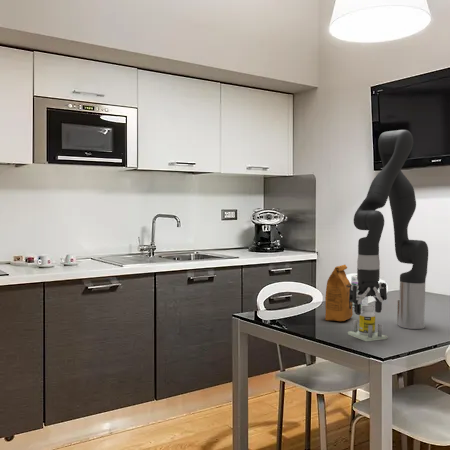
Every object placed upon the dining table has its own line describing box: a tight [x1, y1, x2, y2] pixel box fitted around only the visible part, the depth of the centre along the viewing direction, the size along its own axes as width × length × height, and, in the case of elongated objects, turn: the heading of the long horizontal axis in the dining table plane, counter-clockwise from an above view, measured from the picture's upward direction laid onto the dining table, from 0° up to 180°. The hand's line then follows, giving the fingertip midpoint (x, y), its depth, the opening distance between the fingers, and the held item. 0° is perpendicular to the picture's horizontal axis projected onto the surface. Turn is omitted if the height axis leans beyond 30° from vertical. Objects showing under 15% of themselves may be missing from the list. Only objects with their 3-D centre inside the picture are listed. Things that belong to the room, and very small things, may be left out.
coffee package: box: [324, 264, 354, 322], centre depth 206 cm, size 10×12×22 cm
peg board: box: [347, 319, 388, 342], centre depth 178 cm, size 10×9×5 cm
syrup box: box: [350, 274, 369, 310], centre depth 233 cm, size 6×6×14 cm
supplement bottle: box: [358, 304, 376, 335], centre depth 179 cm, size 5×5×10 cm
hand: (368, 313), depth 179 cm, fingers open, 8 cm apart
